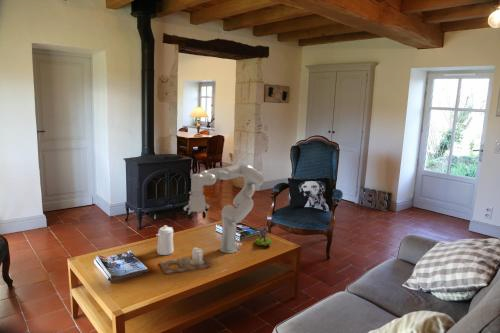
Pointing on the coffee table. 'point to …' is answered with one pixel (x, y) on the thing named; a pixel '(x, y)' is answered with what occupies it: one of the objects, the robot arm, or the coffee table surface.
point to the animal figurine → (263, 238)
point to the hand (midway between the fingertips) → (196, 218)
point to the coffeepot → (165, 240)
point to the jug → (197, 255)
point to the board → (182, 265)
